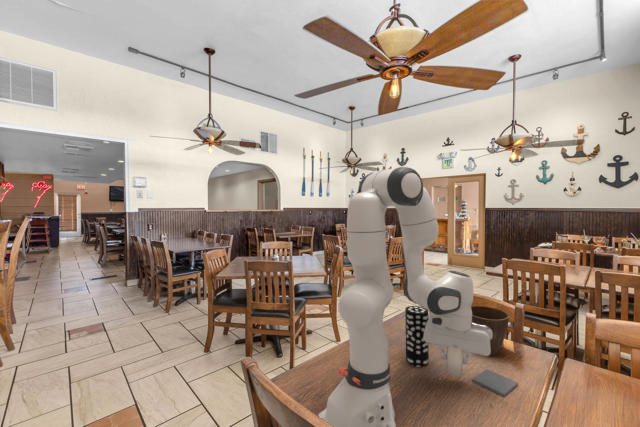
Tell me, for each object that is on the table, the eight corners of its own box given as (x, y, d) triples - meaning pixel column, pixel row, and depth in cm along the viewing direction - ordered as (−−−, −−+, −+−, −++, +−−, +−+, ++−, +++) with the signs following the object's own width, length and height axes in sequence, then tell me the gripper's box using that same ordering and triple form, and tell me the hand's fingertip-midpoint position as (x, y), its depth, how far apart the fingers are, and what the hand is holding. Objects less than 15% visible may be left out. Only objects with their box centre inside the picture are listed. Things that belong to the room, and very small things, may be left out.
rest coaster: (504, 397, 91) (504, 394, 91) (471, 381, 99) (471, 378, 99) (518, 385, 96) (518, 382, 96) (486, 371, 105) (486, 368, 105)
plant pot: (506, 365, 108) (506, 322, 108) (462, 353, 118) (462, 313, 117) (511, 349, 120) (511, 311, 120) (470, 339, 129) (470, 303, 129)
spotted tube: (430, 368, 107) (430, 314, 107) (406, 366, 109) (406, 313, 108) (426, 356, 115) (426, 306, 115) (404, 354, 117) (404, 305, 116)
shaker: (449, 375, 96) (450, 345, 95) (443, 366, 101) (445, 338, 100) (464, 376, 95) (466, 346, 95) (458, 367, 100) (460, 339, 100)
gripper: (492, 323, 95) (489, 364, 96) (425, 311, 104) (424, 348, 105) (493, 330, 90) (491, 374, 90) (423, 317, 99) (421, 357, 99)
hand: (454, 360), depth 98 cm, fingers closed on shaker, 5 cm apart
